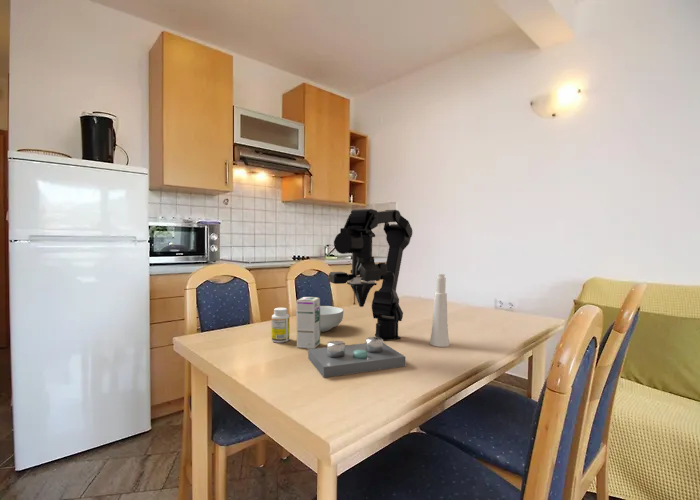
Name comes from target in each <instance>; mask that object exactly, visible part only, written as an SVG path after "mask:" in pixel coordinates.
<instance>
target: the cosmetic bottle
mask: <svg viewBox="0 0 700 500" xmlns="http://www.w3.org/2000/svg"><path fill="white" fill-rule="evenodd" d="M445 276H446V274H445V273H437V276H436V280H435V281H436V283H435V292H434V298H433V313H432V324H431V326H432V327H431V333H430V341H429V344H430V345H431V346H432V347H437V348H445V347H449V346H450V345H451V344H450V339H449V338H450V337H449V328H448V325H449V324H448V296H447V295H448V293H446V282H447V281H446V277H445Z"/></svg>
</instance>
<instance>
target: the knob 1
mask: <svg viewBox="0 0 700 500" xmlns="http://www.w3.org/2000/svg"><path fill="white" fill-rule="evenodd" d="M345 345H346V343H345V342H344V341H342V340H330V341H328V342H327V343H326V347H327V355H328V356H331V357H332V358H335V357H341V356H344V355H345Z"/></svg>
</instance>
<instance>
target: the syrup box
mask: <svg viewBox="0 0 700 500" xmlns="http://www.w3.org/2000/svg"><path fill="white" fill-rule="evenodd" d="M320 306H321V298H320V297H316V296H303V297H301V298H299V299H297V300H296V310H297V317H296V348H297V349H307V350H308V349H316V348H318V346H319V345H320V344H321V332H320Z"/></svg>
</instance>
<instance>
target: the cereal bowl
mask: <svg viewBox="0 0 700 500" xmlns="http://www.w3.org/2000/svg"><path fill="white" fill-rule="evenodd" d="M295 315H296V318H297V309H296V310H295ZM343 318H344V309H343V308H342V307H337V306H331V305H320V333H321V332H328V331H330V330H332V328H335V327H337V326H338V325H340V324H341V323H342V321H343Z"/></svg>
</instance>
